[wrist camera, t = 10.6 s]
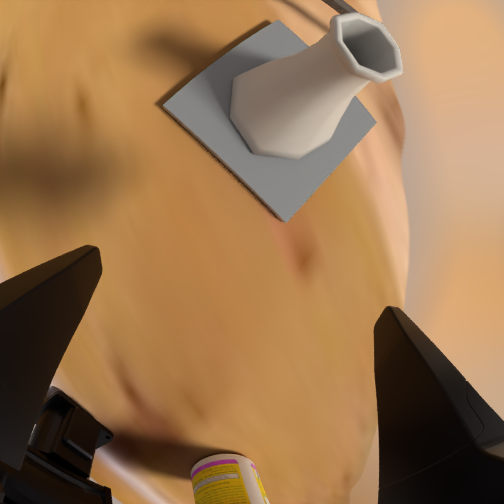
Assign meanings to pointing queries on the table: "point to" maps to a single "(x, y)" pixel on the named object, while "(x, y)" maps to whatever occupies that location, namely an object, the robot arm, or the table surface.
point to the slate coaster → (233, 144)
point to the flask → (312, 87)
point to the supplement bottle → (227, 481)
